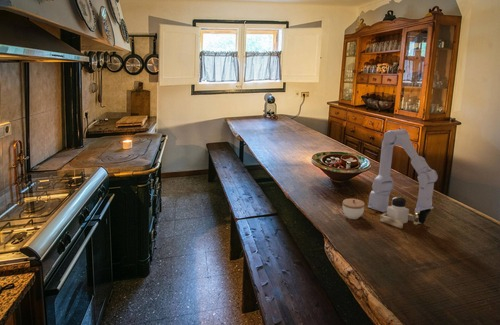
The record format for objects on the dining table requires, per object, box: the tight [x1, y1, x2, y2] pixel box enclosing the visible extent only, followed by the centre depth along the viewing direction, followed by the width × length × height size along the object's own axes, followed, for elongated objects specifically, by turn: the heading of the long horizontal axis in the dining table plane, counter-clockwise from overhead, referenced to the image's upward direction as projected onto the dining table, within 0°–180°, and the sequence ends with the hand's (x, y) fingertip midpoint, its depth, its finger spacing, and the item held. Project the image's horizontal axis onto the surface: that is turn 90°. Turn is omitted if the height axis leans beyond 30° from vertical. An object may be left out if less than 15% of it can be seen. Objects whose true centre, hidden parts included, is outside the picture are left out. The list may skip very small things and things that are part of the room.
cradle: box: [379, 211, 415, 229], centre depth 170 cm, size 11×12×3 cm
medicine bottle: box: [386, 196, 410, 224], centre depth 169 cm, size 7×7×12 cm
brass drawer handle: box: [413, 212, 419, 225], centre depth 164 cm, size 12×3×3 cm, turn 149°
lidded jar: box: [342, 198, 365, 220], centre depth 174 cm, size 11×11×9 cm
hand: (421, 222), depth 162 cm, fingers closed, pressing on brass drawer handle
